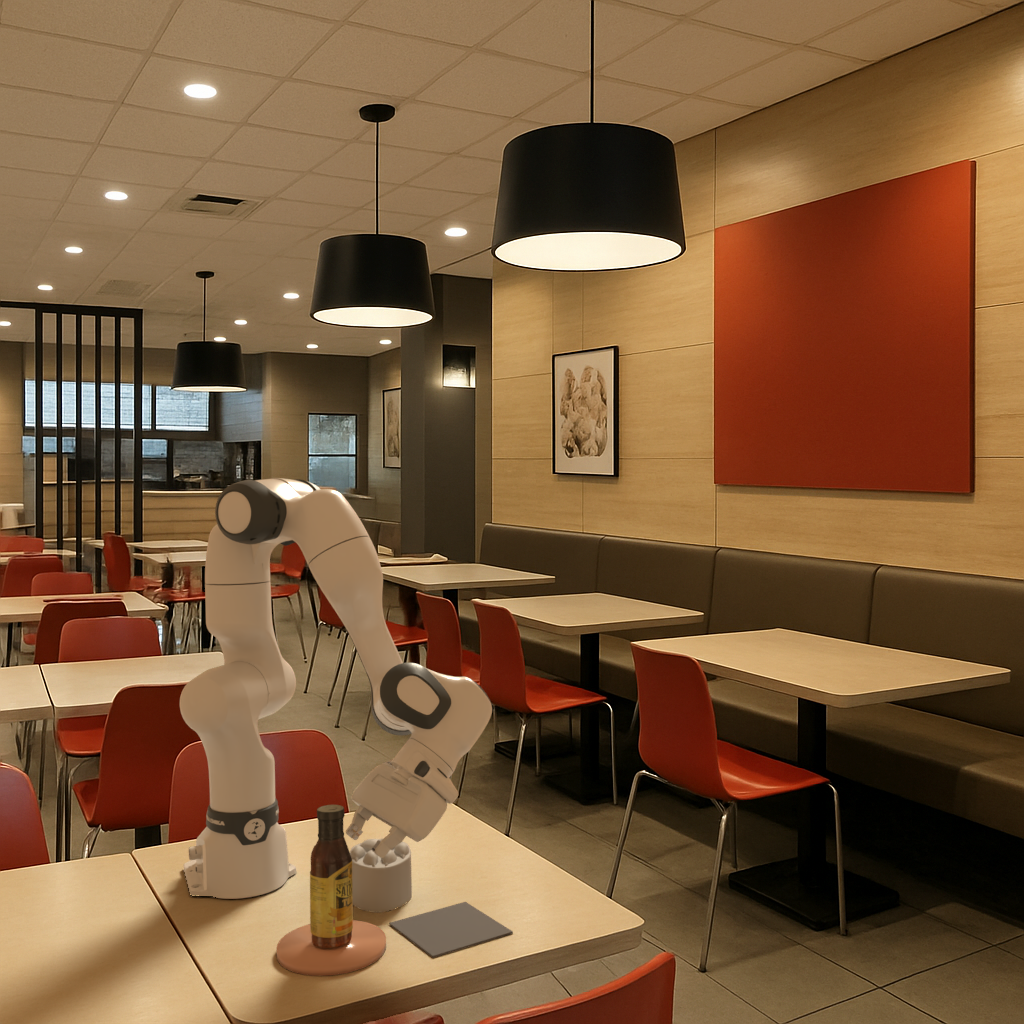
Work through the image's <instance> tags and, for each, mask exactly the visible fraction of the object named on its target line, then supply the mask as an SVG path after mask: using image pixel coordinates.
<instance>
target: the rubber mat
mask: <svg viewBox="0 0 1024 1024" xmlns="http://www.w3.org/2000/svg"><path fill="white" fill-rule="evenodd" d="M389 926H390V927H391V928H393V929H394V930H395V931H397V932H398V933H399V934H401V935H402V936H404V937H405V938H406V939H408V940H409V941H410V942H411V943H413V944H414V945H415V946H417V947H418V948H419V949H420V950H421V951H423V952H425V953H426V954H427V955H428V956H430V957H431V958H433V959H434V958H438V957H440V956H444V955H449V954H450V953H454V952H456V951H461V950H464V949H467V948H470V947H473V946H476V945H480V944H483V943H487V942H490V941H492V940H496V939H499V938H503V937H505V936H509V935H512V934H513V933H514V932H513V930H511V929H510V928H508V927H506V926H505V925H503V924H502V923H500V922H498V921H497V920H496V919H494V918H492V917H490V916H489V915H487V914H485V913H484V912H483V911H481V910H479V909H478V908H476V907H475V906H473V905H472V904H470V903H469V902H468V901H463V902H459V903H455V904H452V905H448V906H445V907H440V908H438V909H434V910H430V911H426V912H423V913H419V914H416V915H411V916H409V917H406V918H402V919H398V920H395V921H390V922H389Z"/></svg>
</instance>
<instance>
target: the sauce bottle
mask: <svg viewBox="0 0 1024 1024" xmlns="http://www.w3.org/2000/svg"><path fill="white" fill-rule="evenodd" d="M316 818H317V821H318V822H317V824H318V827H317V828H318V833H317V838H318V839H317V841H316V843H315V845H313V848H312V851H311V853H310V871H309V900H310V901H309V903H310V904H309V920H310V921H309V922H310V923H309V924H310V931H311V934H312V943H313V945H314V946H316V947H318V948H325V949H333V948H337V947H341V946H344V945H346V944H347V943H349V942H350V941H351V937H352V930H353V920H354V917H353V915H354V914H353V913H354V912H353V911H354V910H353V909H354V907H353V906H354V905H353V881H352V858H351V855H350V850H349V847H348V844H347V841H346V838H345V832H344V818H345V807H344V806H343V805H339V804H327V805H322V806H319V807H318V808H317V809H316Z"/></svg>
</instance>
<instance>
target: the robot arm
mask: <svg viewBox="0 0 1024 1024" xmlns="http://www.w3.org/2000/svg"><path fill="white" fill-rule="evenodd" d="M214 511H215V512H214V513H215V515H214V517H215V521H216V524H215V525H214V526H213V527H212V529H211V530H210V532H209V534H208V539H207V547H206V554H205V555H206V556H205V565H204V567H205V568H204V588H205V589H204V591H205V592H204V594H205V595H204V596H205V597H204V599H205V601H204V602H205V625H206V629H207V631H208V632H209V633H210V634H211V635H212V636H213V637H215V638H216V639H217V641H218V643H219V646H220V648H221V652H222V655H223V656H222V657H223V660H224V663H223V665H218V666H216V667H212V668H209V669H206V670H205V671H202V672H201V673H200V674H198V675H196V676H195V677H193V678H192V679H191V680H189V681H188V682H187V683H186V684H185V685H184V687H183V689H182V691H181V694H180V697H179V710H180V714H181V717H182V719H183V721H184V722H185V724H186V725H187V726H188V728H190V729H191V730H192V731H194V732H195V733H196V734H197V735H198V737H199V738H200V740H201V744H202V746H203V748H204V752H205V756H206V759H207V766H208V779H209V780H208V781H209V804H208V806H207V811H206V816H205V818H206V820H205V825H206V827H205V828H204V829H203V830H202V831H201V833H200V834H199V835H198V836H197V837H196V840H195V845H193V846H190V847H188V858H189V860H188V861H186V862H185V863H183V868H184V870H183V873H184V872H185V874H184V877H185V876H186V878H185V881H186V880H187V882H186V885H187V884H188V887H187V889H188V888H189V891H188V893H189V892H190V894H191V895H199V896H213V897H212V898H215V897H216V899H217V898H218V899H227V900H229V899H233V900H234V899H246V898H252V897H257V896H260V895H261V896H262V895H265V894H268V893H270V892H274V891H275V890H277V889H279V888H281V887H283V885H285V883H286V882H287V880H288V879H289V878H290V877H292V876H293V875H295V874H297V866H296V865H295V864H292V863H289V862H290V861H289V851H288V850H289V849H288V839H287V831H286V829H285V827H284V826H282V825H281V824H279V822H278V821H279V813H280V811H279V805H278V804H279V801H278V799H277V798H276V771H275V769H276V768H275V767H276V766H275V765H276V763H275V757H274V755H273V752H271V751H270V750H269V749H268V748H267V747H265V746H264V743H263V742H262V739H261V736H260V732H259V726H258V722H259V720H261V719H264V718H265V717H268V716H272V715H274V714H275V713H277V712H279V710H281V709H282V708H283V707H284V706H285V705H286V704H288V703H289V702H290V701H291V700H292V698H293V696H294V695H295V692H296V688H297V679H296V674H295V672H294V669H293V668H292V666H291V664H289V663H288V661H286V660H285V658H284V657H283V656H282V653H281V650H280V648H279V645H278V642H277V639H276V638H277V637H276V634H275V630H274V625H273V614H272V612H273V611H272V591H271V590H272V589H271V588H272V587H271V568H270V567H271V565H270V564H271V560H270V559H271V557H272V555H271V554H273V551H274V549H275V548H276V547H277V546H278V545H279V544H281V545H282V546H286V547H287V546H290V545H292V544H295V543H296V544H297V545H298V547H299V550H301V552H302V555H303V556H304V559H305V561H306V564H307V566H308V568H309V570H310V573H311V574H312V577H313V579H314V580H315V581H316V584H317V586H319V589H320V591H321V592H322V593H323V595H324V596H325V598H326V599H327V601H328V603H329V604H330V605H331V608H332V609H333V610H334V611H335V613H336V614H337V616H338V618H339V619H340V621H341V622H342V624H343V626H344V627H345V630H346V631H347V632H348V635H349V637H350V639H351V641H352V643H353V646H354V648H355V650H356V653H357V655H358V657H359V660H360V662H361V664H362V666H363V668H364V671H365V674H366V675H367V678H368V680H369V681H368V682H369V685H370V707H371V714H372V716H373V719H374V721H375V723H376V724H377V725H378V726H379V727H380V729H382V730H383V731H384V732H387V733H389V734H390V735H394V736H395V735H396V736H409V735H410V736H409V738H408V739H407V740H406V742H405V743H404V744H403V746H402V747H401V748H400V749H399V751H398V752H397V753H396V754H395V756H394V757H393V758H391V759H389V760H387V761H384V762H383V763H379V764H378V765H376V766H375V767H374V768H372V770H370V771H369V772H368V774H367V775H366V776H365V777H364V778H363V779H362V780H361V781H360V783H359V784H358V785H357V786H356V788H354V790H353V792H352V794H351V797H350V799H351V801H352V802H353V803H354V804H355V805H356V806H357V809H356V810H355V811H354V813H353V817H352V820H351V823H350V825H349V826H348V827H347V828H346V830H345V835H346V836H348V837H349V838H351V839H352V840H353V841H357V840H358V839H359V838H360V836H361V835H362V833H364V831H363V830H362V829H363V827H364V825H365V823H366V821H367V822H368V821H369V820H370V819H371V817H374V818H376V819H378V820H380V821H381V822H383V823H385V824H386V825H388V826H389V827H390V829H388V832H389V833H387V835H386V836H385V837H384V839H383V838H382V839H383V840H381V841H379V840H378V841H377V842H376V844H375V845H374V846H373V848H372V851H373V852H374V853H375V854H376V855H378V856H379V857H380V858H384V857H385V856H386V854H387V853H388V852H389V850H390V849H392V848H394V847H395V846H397V845H398V844H400V843H401V842H404V840H405V838H406V837H407V838H410V839H411V840H412V841H414V842H416V843H419V842H420V841H422V840H424V839H425V838H427V837H428V836H429V835H430V834H431V832H432V831H433V830H434V829H435V827H436V826H437V825H438V823H439V822H440V820H441V819H442V817H444V814H445V813H446V811H447V809H448V804H449V805H450V804H451V805H452V804H453V803H454V802H455V801H456V800H457V798H458V796H459V791H458V790H457V788H456V786H455V785H454V783H453V781H452V779H451V777H452V775H453V774H454V772H455V770H456V768H457V766H458V763H459V761H461V758H463V756H465V755H467V753H469V752H470V751H471V749H472V748H473V746H474V745H475V744H476V742H477V741H478V739H480V737H481V735H482V734H483V732H484V731H485V729H486V727H487V725H488V723H489V722H490V719H491V718H492V713H493V706H492V702H491V699H490V698H489V696H488V694H487V692H485V690H484V689H483V688H482V686H480V685H479V683H477V682H476V681H474V680H473V679H472V678H470V677H468V676H453V675H449V674H444V673H440V672H436V671H434V670H431V669H429V668H427V667H425V666H423V665H421V664H419V663H415V662H403V660H402V657H401V655H400V653H399V651H398V648H397V646H396V644H395V642H394V640H393V638H392V635H391V632H390V631H389V628H388V625H387V624H386V620H385V616H384V615H385V614H384V608H383V588H384V574H383V569H382V566H381V563H380V562H381V561H380V559H379V556H378V553H377V550H376V547H375V546H374V543H373V541H372V539H371V537H370V535H369V533H368V531H367V530H366V528H365V526H364V524H363V522H362V520H361V518H360V517H359V516H358V513H356V511H355V509H354V508H353V507H352V505H351V504H350V503H349V501H348V500H347V499H346V497H345V496H344V495H343V493H341V492H339V491H338V490H335V489H331V488H322V489H321V488H320V487H319V486H318V485H316V484H314V483H312V482H310V481H308V480H303V479H296V478H295V479H290V478H284V477H283V478H282V477H281V478H280V477H272V478H266V479H265V478H264V479H256V480H253V479H245V480H240V481H237V482H235V483H231V484H230V485H228V486H227V487H225V488H224V489H223V490H222V491H221V492H220V494H219V495H218V497H217V500H216V503H215V510H214Z"/></svg>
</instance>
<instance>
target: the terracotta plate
mask: <svg viewBox="0 0 1024 1024" xmlns="http://www.w3.org/2000/svg"><path fill="white" fill-rule="evenodd" d="M386 948H387V936H386V934H385V931H383V929H381V927H379V926H378V925H375V924H372V923H370V922H367V921H362V920H355V919H353V930H352V937H351V941H350V942H349V943H347V944H346V945H344V946H341V947H337V948H333V949H325V948H318V947H316V946H314V945H313V943H312V934H311V931H310V923H309V924H305V925H302V926H300V927H297V928H295V929H292V930H291V931H289V932H288V933H285V935H283V937H281V938H280V940H279V941H278V943H277V945H276V960H277V963H280V964H279V965H280V966H281V967H282V968H283V967H284V968H283V969H285V968H286V970H287V971H289V970H290V971H289V972H291V971H292V973H294V972H295V973H294V974H299V975H304V976H311V977H312V976H314V977H315V976H316V977H326V976H336V975H337V976H338V975H344V974H348V973H351V972H356V971H359V970H362V969H364V968H366V967H369V966H371V965H373V964H374V963H375V962H377V961H378V960H379V959H381V958H382V957H383V955H384V954H385V952H386V950H387V949H386Z"/></svg>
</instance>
